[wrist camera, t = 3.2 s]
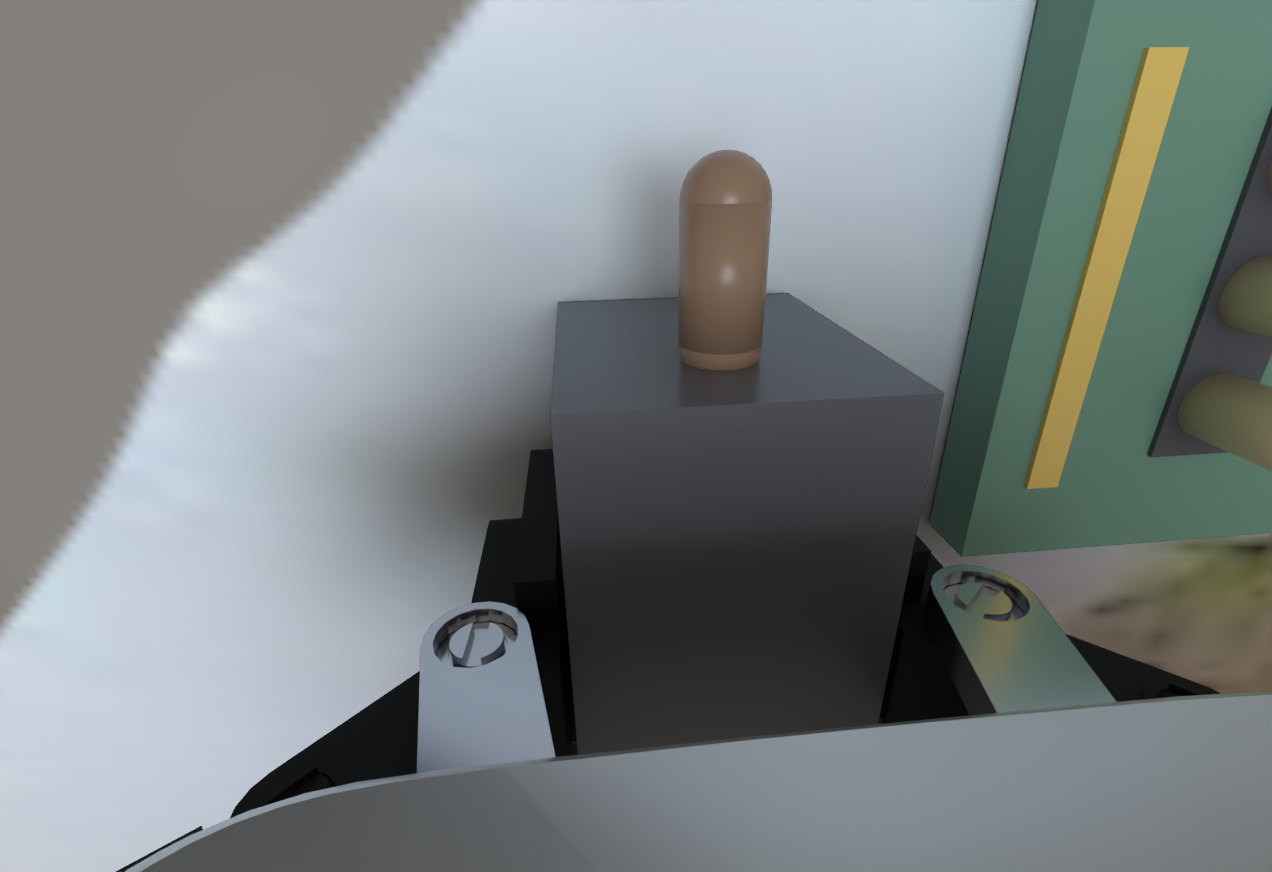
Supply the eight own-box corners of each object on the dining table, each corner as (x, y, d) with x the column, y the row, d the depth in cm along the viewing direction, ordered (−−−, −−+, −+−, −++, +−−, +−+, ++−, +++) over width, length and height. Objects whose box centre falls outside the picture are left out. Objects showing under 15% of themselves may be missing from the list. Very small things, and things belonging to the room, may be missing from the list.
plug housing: (758, 645, 14) (847, 874, 10) (583, 660, 14) (590, 906, 9) (800, 148, 10) (993, 144, 5) (547, 153, 10) (528, 153, 5)
